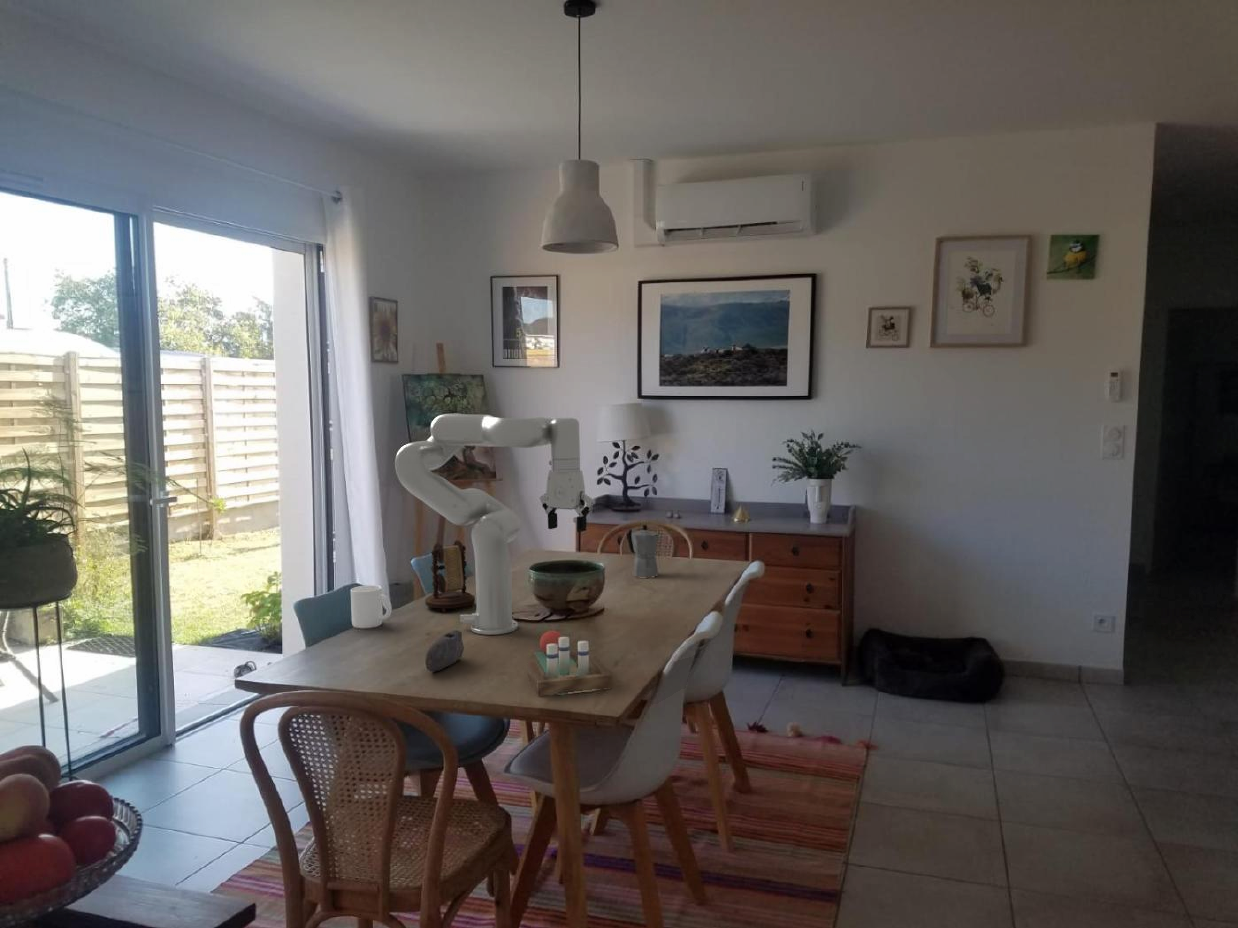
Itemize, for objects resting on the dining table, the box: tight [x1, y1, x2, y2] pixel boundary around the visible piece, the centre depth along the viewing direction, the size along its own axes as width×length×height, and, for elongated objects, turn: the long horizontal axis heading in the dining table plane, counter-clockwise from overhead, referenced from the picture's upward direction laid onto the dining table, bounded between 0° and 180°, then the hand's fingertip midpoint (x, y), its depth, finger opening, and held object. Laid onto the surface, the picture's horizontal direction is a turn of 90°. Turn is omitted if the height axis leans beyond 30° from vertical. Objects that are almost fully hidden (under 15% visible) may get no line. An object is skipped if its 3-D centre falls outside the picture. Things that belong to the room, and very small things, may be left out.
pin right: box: [577, 640, 590, 676], centre depth 185 cm, size 2×2×8 cm
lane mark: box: [534, 651, 578, 696], centre depth 191 cm, size 30×8×1 cm, turn 15°
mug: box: [350, 584, 392, 629], centre depth 231 cm, size 12×8×10 cm
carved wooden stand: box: [424, 539, 476, 614], centre depth 250 cm, size 15×15×20 cm
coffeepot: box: [626, 524, 661, 577], centre depth 290 cm, size 15×9×18 cm, turn 44°
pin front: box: [559, 636, 570, 676], centre depth 188 cm, size 2×2×8 cm
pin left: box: [546, 644, 558, 679], centre depth 183 cm, size 2×2×8 cm
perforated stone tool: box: [424, 630, 465, 672], centre depth 195 cm, size 15×5×7 cm, turn 161°
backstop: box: [527, 655, 613, 697], centre depth 184 cm, size 16×14×3 cm
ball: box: [539, 630, 564, 654], centre depth 202 cm, size 6×6×6 cm
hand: (567, 529), depth 219 cm, fingers open, 9 cm apart
